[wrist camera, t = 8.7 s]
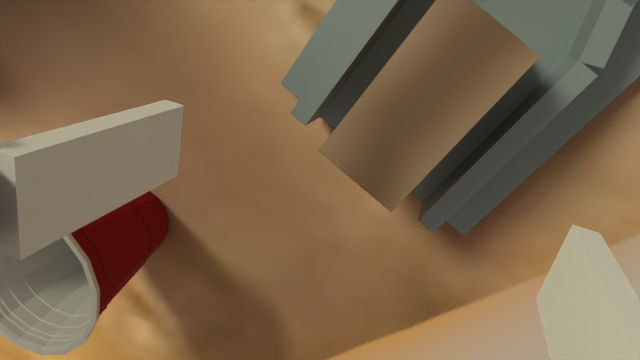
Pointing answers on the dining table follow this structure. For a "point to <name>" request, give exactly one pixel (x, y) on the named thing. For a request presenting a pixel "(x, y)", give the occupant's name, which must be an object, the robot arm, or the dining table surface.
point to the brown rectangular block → (427, 99)
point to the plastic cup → (76, 277)
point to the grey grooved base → (506, 114)
